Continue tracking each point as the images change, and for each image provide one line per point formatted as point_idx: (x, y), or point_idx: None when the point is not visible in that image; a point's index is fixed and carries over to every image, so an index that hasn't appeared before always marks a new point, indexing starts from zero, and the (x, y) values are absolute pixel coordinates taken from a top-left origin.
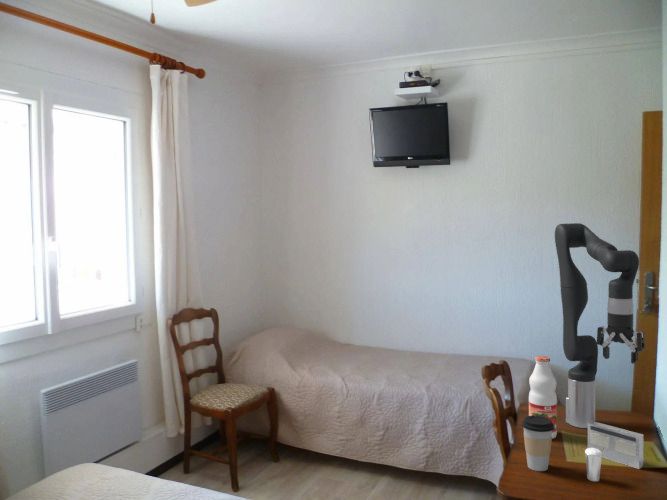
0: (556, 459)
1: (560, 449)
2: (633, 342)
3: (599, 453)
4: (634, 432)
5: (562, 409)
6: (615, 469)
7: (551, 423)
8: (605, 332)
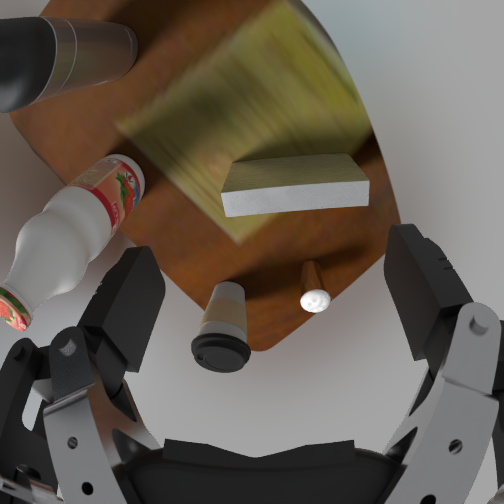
0: (223, 251)
1: (193, 210)
2: (470, 432)
3: (328, 303)
4: (347, 184)
5: None
6: None
7: (241, 353)
8: (35, 495)
